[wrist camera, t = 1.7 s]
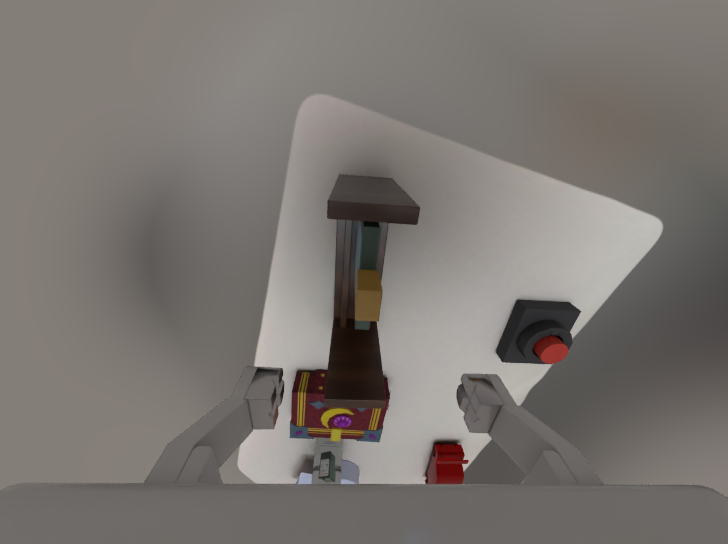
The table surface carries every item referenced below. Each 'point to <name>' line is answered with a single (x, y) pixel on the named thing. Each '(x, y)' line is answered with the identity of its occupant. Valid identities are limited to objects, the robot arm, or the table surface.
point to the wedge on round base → (347, 474)
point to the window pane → (367, 275)
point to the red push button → (550, 349)
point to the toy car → (446, 465)
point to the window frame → (349, 345)
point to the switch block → (535, 329)
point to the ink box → (327, 462)
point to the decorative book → (331, 413)
